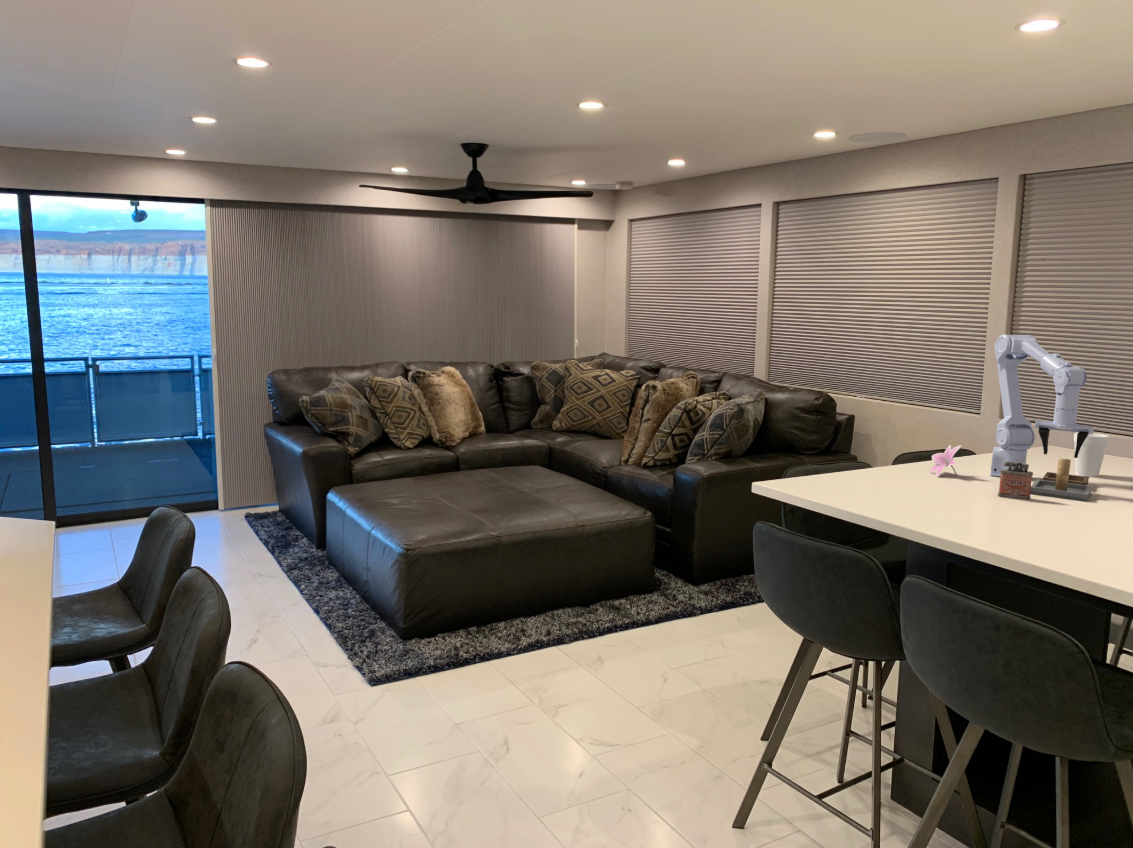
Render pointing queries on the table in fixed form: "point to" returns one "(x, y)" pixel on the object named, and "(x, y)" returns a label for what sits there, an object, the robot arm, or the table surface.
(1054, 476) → the holder
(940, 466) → the lily
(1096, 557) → the table surface
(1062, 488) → the pin
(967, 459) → the table surface
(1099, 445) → the foam cup
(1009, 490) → the lighter
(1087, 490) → the tray
